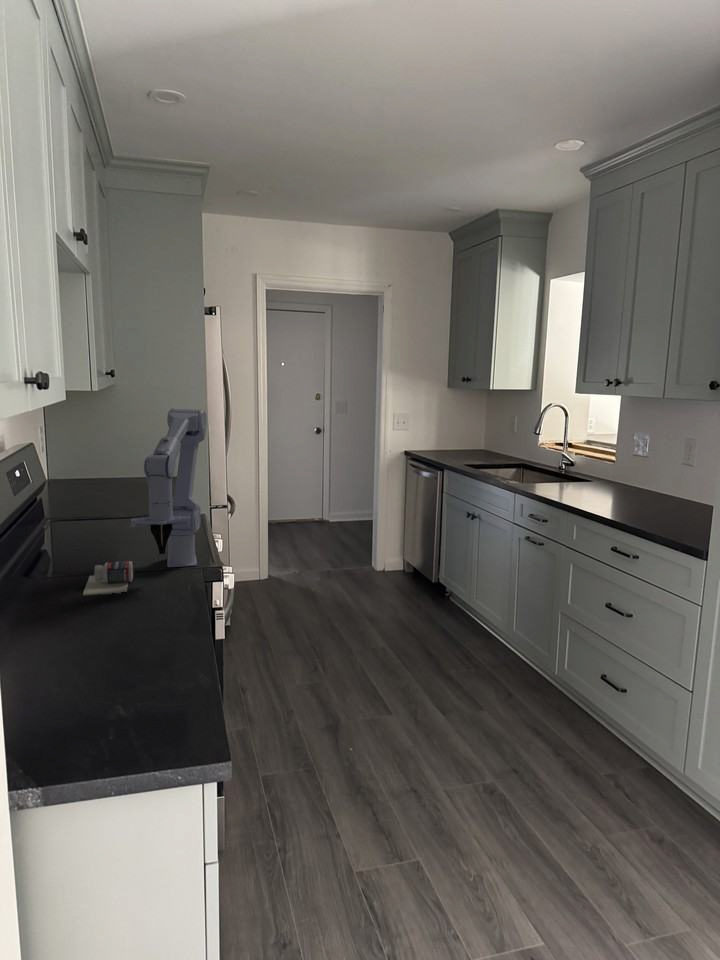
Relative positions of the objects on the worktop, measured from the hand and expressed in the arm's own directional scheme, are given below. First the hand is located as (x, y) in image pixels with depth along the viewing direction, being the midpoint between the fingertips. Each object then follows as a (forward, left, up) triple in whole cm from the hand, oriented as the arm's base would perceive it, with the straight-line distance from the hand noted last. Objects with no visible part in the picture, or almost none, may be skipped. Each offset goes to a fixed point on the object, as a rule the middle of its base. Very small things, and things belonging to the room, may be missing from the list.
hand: (162, 552), depth 168 cm
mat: (0, -14, -8) cm, 15 cm away
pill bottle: (0, -7, -5) cm, 9 cm away
